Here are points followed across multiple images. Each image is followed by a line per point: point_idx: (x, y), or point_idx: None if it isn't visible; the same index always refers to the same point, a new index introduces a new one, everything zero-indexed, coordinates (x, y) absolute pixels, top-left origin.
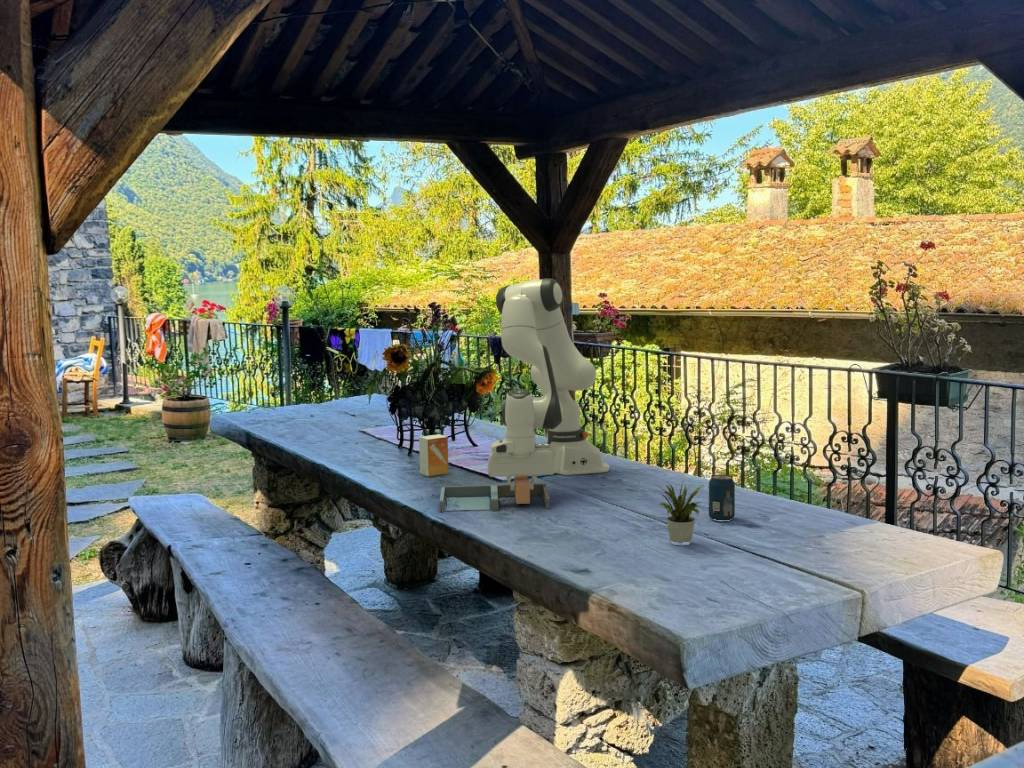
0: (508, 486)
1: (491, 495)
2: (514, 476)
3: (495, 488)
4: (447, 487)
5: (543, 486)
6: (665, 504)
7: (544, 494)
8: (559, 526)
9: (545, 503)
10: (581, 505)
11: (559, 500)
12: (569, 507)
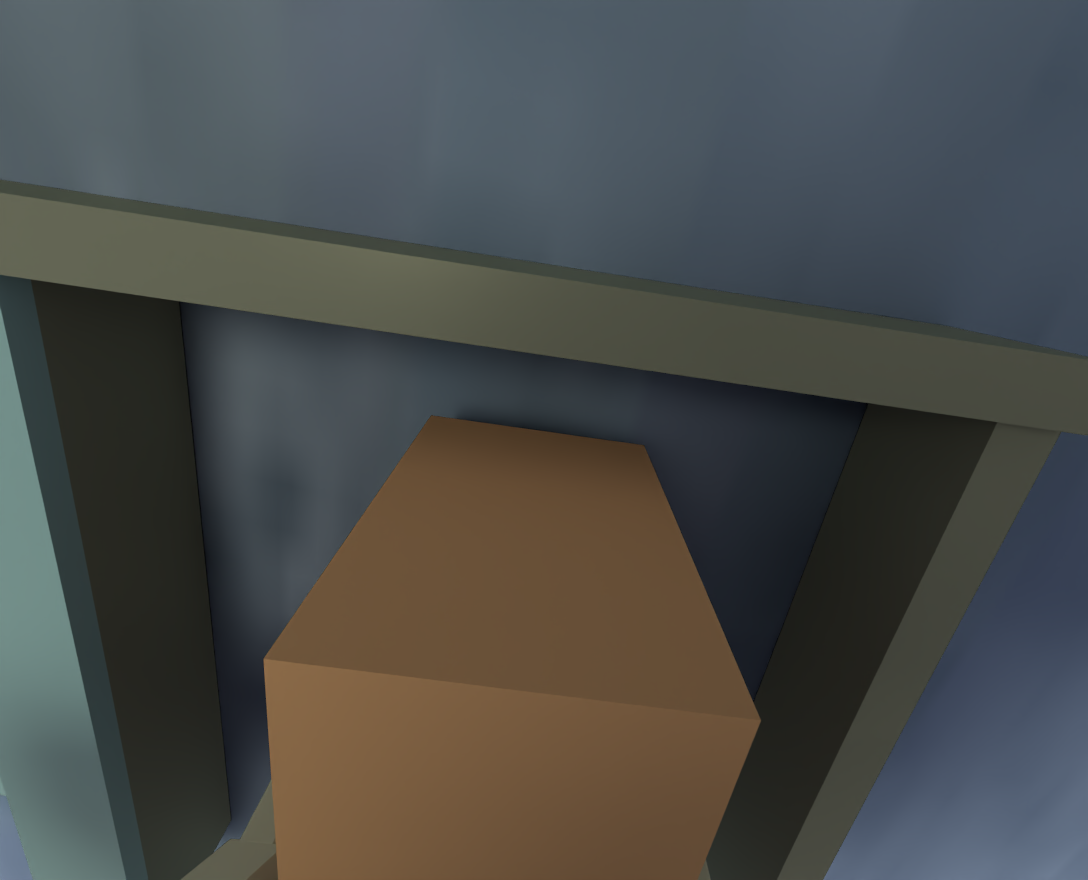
0: (281, 312)
1: (32, 859)
2: (280, 843)
3: (9, 516)
4: None
5: (986, 477)
6: None
7: (799, 776)
8: None
9: (728, 806)
10: (1051, 852)
11: (956, 657)
12: (909, 877)
